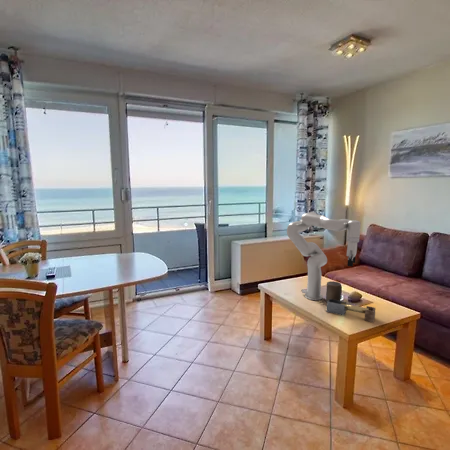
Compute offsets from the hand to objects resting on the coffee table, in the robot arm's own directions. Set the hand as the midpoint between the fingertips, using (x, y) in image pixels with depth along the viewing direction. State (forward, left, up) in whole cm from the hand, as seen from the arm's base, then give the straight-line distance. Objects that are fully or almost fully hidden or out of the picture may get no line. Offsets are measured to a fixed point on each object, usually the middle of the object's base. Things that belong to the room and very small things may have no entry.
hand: (351, 264), depth 201 cm
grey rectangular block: (-6, -12, -30) cm, 33 cm away
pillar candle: (-11, +4, -31) cm, 33 cm away
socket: (+14, -12, -30) cm, 36 cm away
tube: (+5, -12, -27) cm, 30 cm away
